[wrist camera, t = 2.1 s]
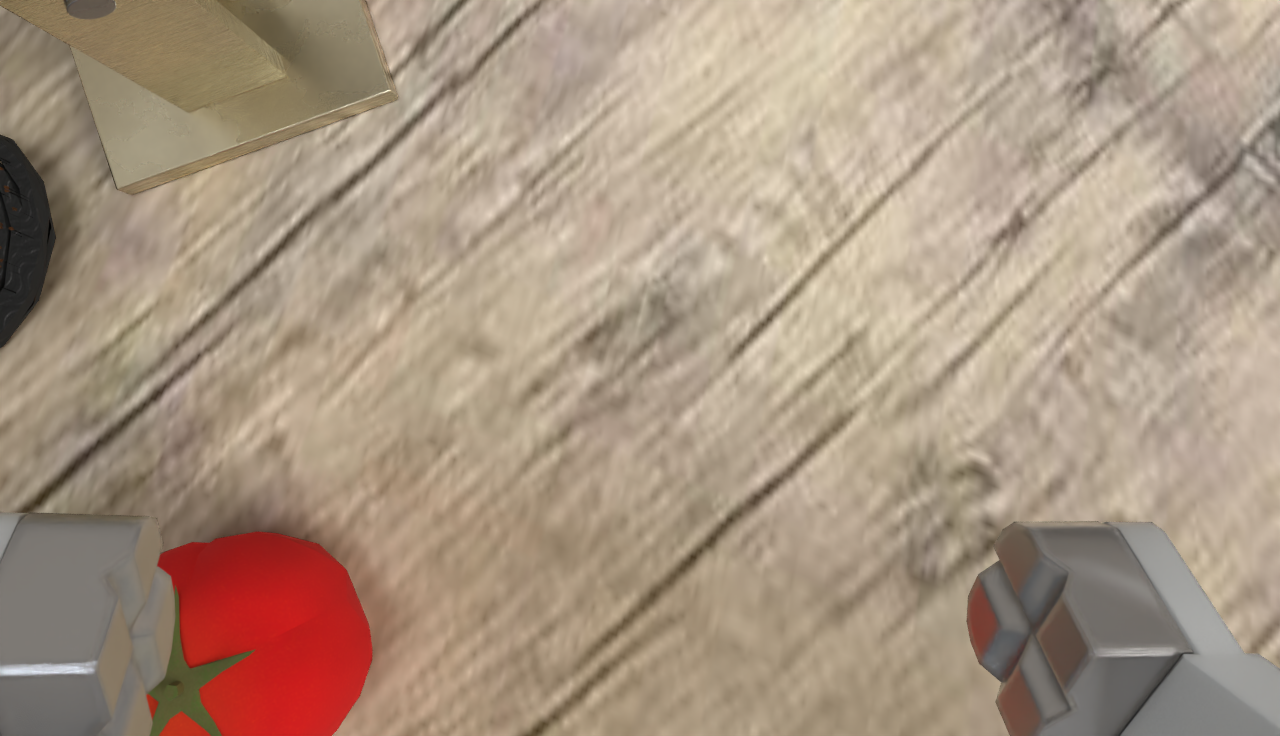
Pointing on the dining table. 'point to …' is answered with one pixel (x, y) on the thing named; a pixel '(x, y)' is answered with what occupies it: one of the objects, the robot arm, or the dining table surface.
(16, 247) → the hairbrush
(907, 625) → the dining table surface
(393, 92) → the bracket
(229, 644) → the tomato
